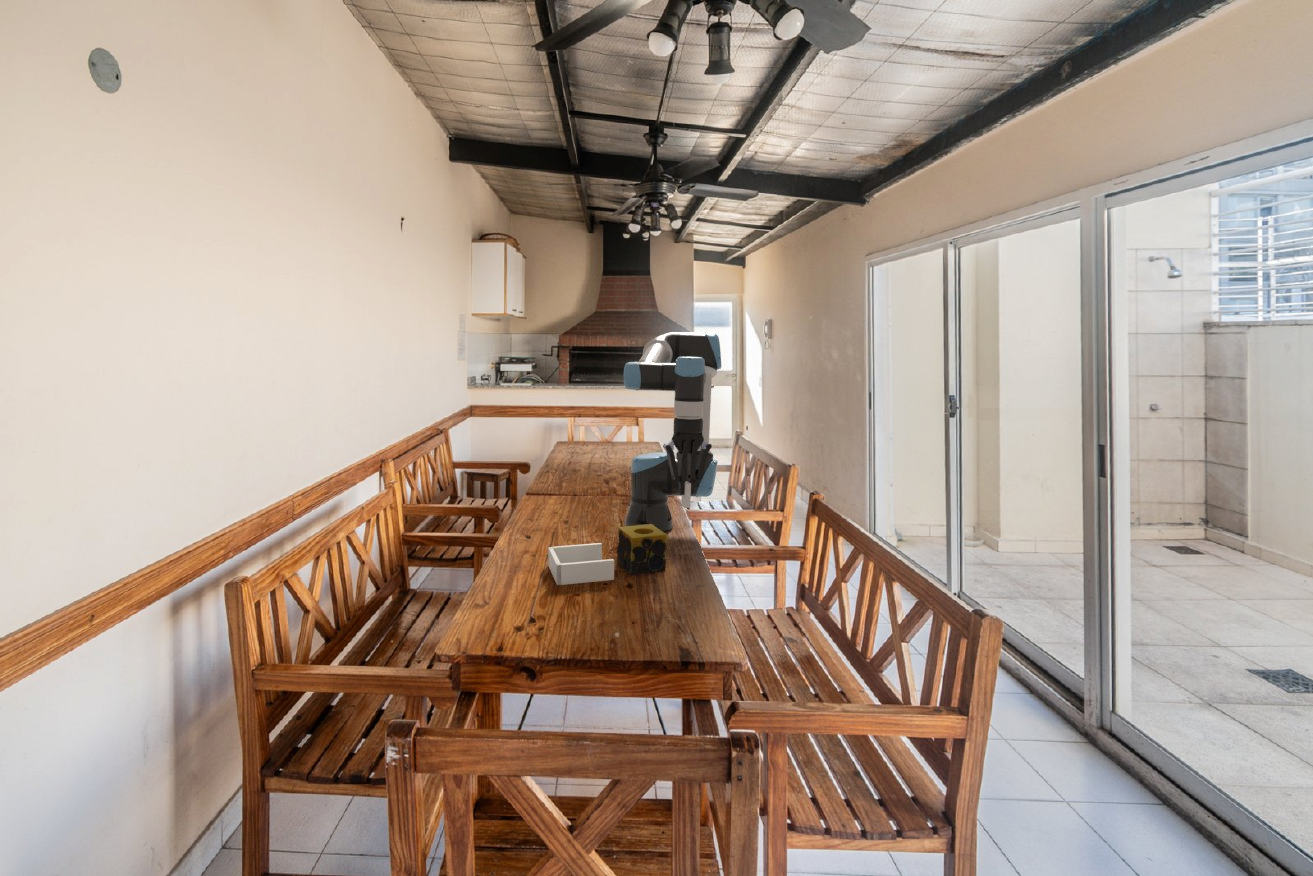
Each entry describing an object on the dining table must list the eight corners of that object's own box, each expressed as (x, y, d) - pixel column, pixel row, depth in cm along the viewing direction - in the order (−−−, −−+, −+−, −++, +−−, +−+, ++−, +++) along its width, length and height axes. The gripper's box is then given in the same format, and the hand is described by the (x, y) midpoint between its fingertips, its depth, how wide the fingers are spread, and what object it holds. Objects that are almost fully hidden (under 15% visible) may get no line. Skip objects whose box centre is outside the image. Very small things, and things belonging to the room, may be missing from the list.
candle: (616, 563, 168) (616, 526, 167) (651, 558, 172) (652, 523, 171) (629, 576, 159) (630, 537, 158) (666, 571, 163) (667, 533, 162)
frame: (600, 560, 169) (601, 542, 169) (613, 579, 156) (614, 560, 156) (548, 565, 165) (548, 547, 164) (557, 585, 152) (557, 565, 151)
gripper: (706, 415, 169) (703, 501, 172) (659, 415, 165) (657, 504, 168) (717, 418, 162) (714, 508, 165) (669, 419, 158) (666, 511, 161)
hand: (685, 506), depth 167 cm, fingers closed
